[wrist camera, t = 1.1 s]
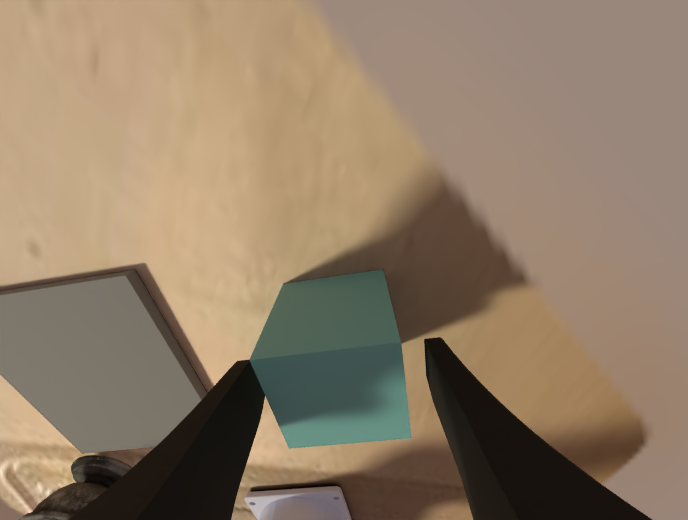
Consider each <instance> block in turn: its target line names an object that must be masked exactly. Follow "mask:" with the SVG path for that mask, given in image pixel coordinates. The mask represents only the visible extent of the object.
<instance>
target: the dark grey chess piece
mask: <svg viewBox="0 0 688 520" xmlns="http://www.w3.org/2000/svg"><path fill="white" fill-rule="evenodd" d="M130 469H132V467H130V466H129V465H127V464H125V463H123V462H121V461H118V460H115V459H112V458H108V457H103V456H85V457H81V458H78V459H77V460H75V461H74V462H73V464H72V466H71V471H72V474H73V478H74V480H75V481H76V482H77V483H73V484H70V485H67V486H65V487H63V488H60V489H58V490H57V491H55V492H54V493H52V494H51V495H50V496H48V497H47V498H46V499H44V500H43V501H42V502H41V503H39V505H38V506H37V507H36V508H35V509H34V510H33V512H32V513H28V514H26V515H24V516H23V517H21V518H20V519H19V520H69V519H70V518H71V517H73V516H74V515H75V514H76V513H78V512H79V511H80V510H82V509H83V508H84V507H85V506H87V505H88V504H89V503H91V502H92V501H93V500H94V499H96V498H97V497H98V496H99V495H101V494H102V493H103V492H104V491H105V490H107V489H108V488H109V487H110V486H111V485H113V484H114V483H115V482H116V481H117V480H119V479H120V478H121V477H122V476H123V475H125V474H126V473H127V472H128V471H129V470H130Z"/></svg>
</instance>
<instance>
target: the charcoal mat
mask: <svg viewBox="0 0 688 520" xmlns="http://www.w3.org/2000/svg"><path fill="white" fill-rule="evenodd" d="M0 375H1V376H2V377H3V378H4V379H6V380H7V381H8V382H9V383H10V384H11V385H12V386H13V387H14V388H15V389H16V390H17V391H18V392H19V393H20V394H21V395H22V396H23V397H24V398H25V399H26V400H27V401H28V402H29V403H30V404H31V405H32V406H33V407H34V408H35V409H36V410H38V411H39V412H40V413H41V414H42V415H43V416H44V417H45V418H46V419H47V420H48V421H49V422H50V423H51V424H52V425H53V426H54V427H55V428H56V429H57V430H58V431H59V432H60V433H61V434H62V435H63V436H64V437H65V438H66V439H67V440H68V441H70V442H71V443H72V444H73V445H74V446H75V447H76V448H77V449H78V450H79V451H80V452H81V453H82V454H83V453H95V452H106V451H117V450H128V449H139V448H151V447H156V446H157V445H158V444H159V443H160V442H161V441H162V440H163V439H164V438H165V437H166V436H167V435H168V434H170V432H171V431H172V430H173V429H174V428H175V427H176V426H177V425H178V424H179V423H180V422H181V421H182V420H183V419H184V418H185V417H186V416H187V415H188V414H189V413H190V412H191V411H192V410H193V409H194V408H195V407H196V406H197V405H198V403H199V402H200V401H201V400H202V399H203V398H204V397H205V396H206V395H207V392H206V390H205V389H204V387H203V385H202V383H201V382H200V380H199V378H198V377H197V375H196V373H195V372H194V370H193V368H192V366H191V365H190V363H189V361H188V360H187V358H186V356H185V354H184V353H183V351H182V349H181V348H180V346H179V344H178V342H177V341H176V339H175V337H174V336H173V334H172V332H171V331H170V329H169V327H168V325H167V324H166V322H165V320H164V319H163V317H162V315H161V313H160V312H159V310H158V308H157V307H156V305H155V303H154V301H153V300H152V298H151V296H150V295H149V293H148V291H147V290H146V288H145V286H144V284H143V283H142V281H141V279H140V278H139V276H138V274H137V272H136V271H135V270H129V271H123V272H116V273H110V274H104V275H98V276H91V277H85V278H79V279H73V280H66V281H60V282H54V283H48V284H41V285H35V286H29V287H23V288H16V289H10V290H4V291H0Z"/></svg>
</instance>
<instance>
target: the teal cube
mask: <svg viewBox="0 0 688 520" xmlns="http://www.w3.org/2000/svg"><path fill="white" fill-rule="evenodd" d="M250 362H251V365H252V367H253V369H254V371H255V374H256V376H257V378H258V380H259V383H260V385H261V387H262V389H263V391H264V394H265V396H266V398H267V400H268V403H269V405H270V407H271V409H272V411H273V414H274V416H275V418H276V420H277V423H278V425H279V427H280V429H281V431H282V434H283V436H284V438H285V440H286V443H287V445H288V447H289V448H301V447H313V446H324V445H336V444H348V443H360V442H372V441H384V440H395V439H407V438H412V437H411V428H410V419H409V410H408V401H407V392H406V382H405V373H404V364H403V355H402V346H401V340H400V336H399V332H398V328H397V323H396V319H395V315H394V311H393V307H392V303H391V299H390V295H389V291H388V287H387V283H386V279H385V274H384V270H383V269H381V270H374V271H367V272H360V273H353V274H346V275H340V276H333V277H326V278H319V279H312V280H305V281H298V282H292V283H285V284H283V286H282V288H281V290H280V292H279V295H278V297H277V299H276V301H275V304H274V306H273V308H272V310H271V313H270V315H269V317H268V319H267V322H266V324H265V326H264V328H263V331H262V333H261V335H260V337H259V340H258V342H257V344H256V346H255V349H254V351H253V353H252V356H251V358H250Z"/></svg>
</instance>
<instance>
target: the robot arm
mask: <svg viewBox="0 0 688 520" xmlns="http://www.w3.org/2000/svg"><path fill="white" fill-rule="evenodd" d="M424 344H425V361H426V376H427V380H428V384H429V388H430V391H431V395H432V399H433V402H434V405H435V408H436V411H437V413H438V416H439V419H440V421H441V424H442V427H443V429H444V432H445V435H446V437H447V440H448V443H449V445H450V448H451V451H452V453H453V456H454V459H455V461H456V464H457V467H458V470H459V473H460V476H461V479H462V482H463V485H464V489H465V492H466V495H467V499H468V502H469V506H470V509H471V513H472V516H473V520H652V519H650V518H649V517H648V516H646V515H645V514H643V513H642V512H640V511H639V510H637V509H636V508H634V507H633V506H631V505H630V504H628V503H627V502H625V501H624V500H623V499H621V498H620V497H618V496H617V495H616V494H614V493H613V492H611V491H610V490H608V489H607V488H606V487H604V486H603V485H601V484H600V483H599V482H597V481H596V480H595V479H593V478H592V477H591V476H589V475H588V474H587V473H585V472H584V471H583V470H581V469H580V468H579V467H577V466H576V465H575V464H573V463H572V462H571V461H569V460H568V459H567V458H566V457H564V456H563V455H562V454H560V453H559V452H558V451H556V450H555V449H554V448H552V447H551V446H550V445H549V444H548V443H546V442H545V441H544V440H543V439H541V438H540V437H539V436H538V435H537V434H535V433H534V432H533V431H532V430H531V429H530V428H528V427H527V426H526V425H525V424H524V423H523V422H521V421H520V420H519V419H518V418H517V417H516V416H515V415H513V414H512V413H511V412H510V411H509V410H508V409H507V408H506V407H505V406H504V405H503V404H502V403H501V402H499V401H498V400H497V399H496V398H495V397H494V396H493V395H492V394H491V393H490V392H489V391H488V390H487V389H486V388H485V387H484V386H483V385H482V384H481V383H480V382H479V381H478V379H477V378H476V377H475V376H474V375H473V374H472V373H471V372H470V371H469V370H468V369H467V368H466V367H465V366H464V364H463V363H462V362H461V361H460V360H459V359H458V358H457V356H456V355H455V354H454V353H453V352H452V350H451V349H450V348H449V347H448V345H447V344H446V343H445V341H444V340H443V339H442V338H440V337H438V338H430V339H424ZM264 399H265V394H264V391H263V389H262V387H261V385H260V383H259V380H258V378H257V376H256V374H255V371H254V369H253V367H252V365H251V362H250V360H242V361H237V362H236V363H235V364H234V365H233V366H232V367H231V368H230V369H229V370H228V371H227V373H226V374H225V375H224V376H223V377H222V378H221V379H220V380H219V381H218V383H217V384H216V385H215V386H214V387H213V388H212V389H211V390H210V391H209V393H208V394H207V395H206V396H205V397H204V398H203V399H202V400H201V401H200V402H199V403H198V405H197V406H196V407H195V408H194V409H193V410H192V411H191V412H190V413H189V414H188V415H187V416H186V417H185V418H184V419H183V420H182V421H181V422H180V423H179V424H178V425H177V426H176V427H175V428H174V429H173V430H172V431H171V432H170V434H168V435H167V436H166V437H165V438H164V439H163V440H162V441H161V442H160V443H159V444H158V445H157V446H156V447H155V448H154V449H153V450H152V451H151V452H149V453H148V454H147V455H146V456H145V457H144V458H143V459H142V460H141V461H140V462H138V463H137V464H136V465H135V466H134V467H133V468H132V469H130V470H129V471H128V472H127V473H126V474H125V475H123V476H122V477H121V478H120V479H119V480H117V481H116V482H115V483H114V484H113V485H111V486H110V487H109V488H108V489H107V490H105V491H104V492H103V493H102V494H101V495H99V496H98V497H97V498H96V499H94V500H93V501H92V502H91V503H89V504H88V505H87V506H85V507H84V508H83V509H82V510H80V511H79V512H78V513H76V514H75V515H74V516H73V517H71V518H70V519H69V520H231V517H232V513H233V508H234V504H235V500H236V496H237V492H238V489H239V485H240V482H241V479H242V475H243V472H244V469H245V466H246V463H247V460H248V457H249V454H250V451H251V447H252V444H253V441H254V438H255V435H256V432H257V428H258V425H259V422H260V419H261V414H262V409H263V404H264ZM245 502H246V503H247V505H248V506H249V508H250V509H251V511H252V512H253V514H254V515H255V517H256V518H257V520H352V519H351V516H350V513H349V510H348V507H347V504H346V501H345V498H344V495H343V493H342V490H341V488H340V487H338V486H328V487H313V488H299V489H284V490H270V491H255V492H248V493H246V496H245Z"/></svg>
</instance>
